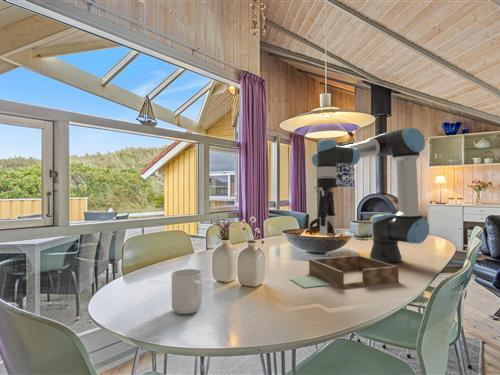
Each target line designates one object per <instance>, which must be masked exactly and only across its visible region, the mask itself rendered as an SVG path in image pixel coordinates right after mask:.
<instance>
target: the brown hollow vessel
mask: <svg viewBox="0 0 500 375" xmlns="http://www.w3.org/2000/svg"><path fill="white" fill-rule="evenodd" d="M308 224H309V226H308V227H309V234H310V236H312V235H313V234H316V233H320V217H317V218H314V219H313V220H311V221H310V223H308ZM315 224H316V225H315ZM329 234H333V237H335V236H336V234H335V230H334V225H333V226H332V224H331V223H330V222H329V221H328V220H327V235H329Z"/></svg>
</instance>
